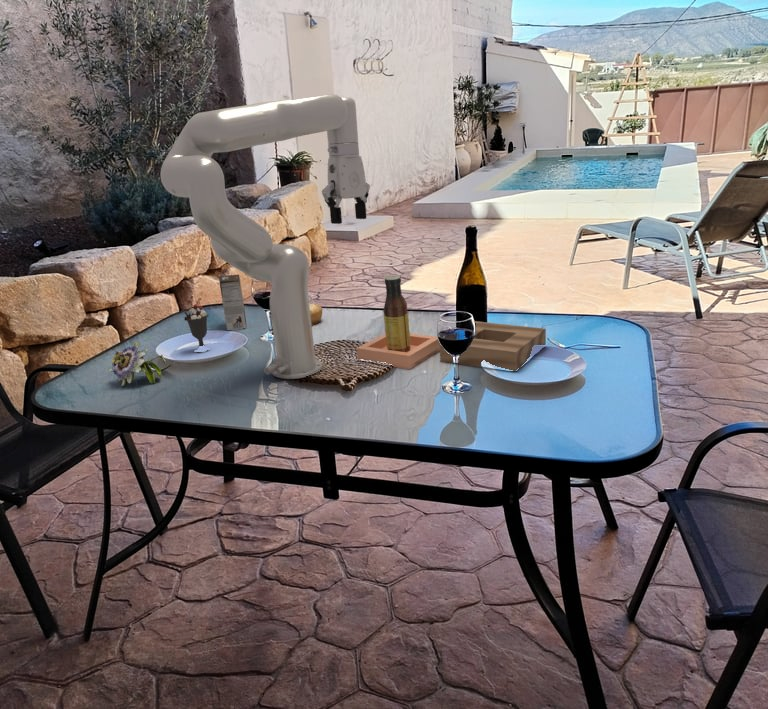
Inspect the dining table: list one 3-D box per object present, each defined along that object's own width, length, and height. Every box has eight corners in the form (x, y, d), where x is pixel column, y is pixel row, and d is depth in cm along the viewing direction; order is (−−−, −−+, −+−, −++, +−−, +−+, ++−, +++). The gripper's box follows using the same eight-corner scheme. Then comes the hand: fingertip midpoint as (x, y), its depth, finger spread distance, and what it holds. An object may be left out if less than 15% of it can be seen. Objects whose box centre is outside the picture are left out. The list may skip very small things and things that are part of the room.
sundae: (218, 346, 182) (209, 296, 177) (208, 353, 175) (199, 302, 171) (197, 346, 183) (188, 296, 178) (186, 354, 177) (177, 302, 172)
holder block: (515, 372, 145) (515, 352, 144) (440, 361, 156) (439, 342, 155) (545, 347, 161) (545, 328, 159) (475, 338, 172) (474, 321, 170)
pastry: (278, 325, 200) (275, 298, 197) (306, 316, 208) (303, 290, 205) (303, 330, 192) (300, 302, 189) (331, 320, 200) (328, 293, 197)
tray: (410, 369, 152) (409, 355, 151) (357, 360, 161) (356, 348, 160) (441, 349, 165) (441, 337, 164) (390, 342, 173) (390, 330, 172)
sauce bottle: (400, 346, 167) (395, 273, 160) (415, 351, 162) (411, 275, 156) (381, 352, 163) (375, 277, 156) (397, 357, 158) (392, 280, 152)
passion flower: (129, 405, 157) (96, 369, 155) (158, 382, 166) (126, 348, 164) (149, 387, 150) (114, 350, 149) (178, 364, 159) (145, 329, 157)
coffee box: (226, 324, 205) (218, 275, 199) (246, 321, 206) (239, 273, 201) (226, 331, 196) (218, 281, 191) (247, 328, 198) (240, 278, 192)
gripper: (331, 152, 146) (337, 225, 151) (377, 149, 159) (381, 217, 164) (308, 153, 151) (315, 225, 156) (354, 150, 163) (359, 216, 169)
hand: (349, 221), depth 160 cm, fingers open, 9 cm apart
